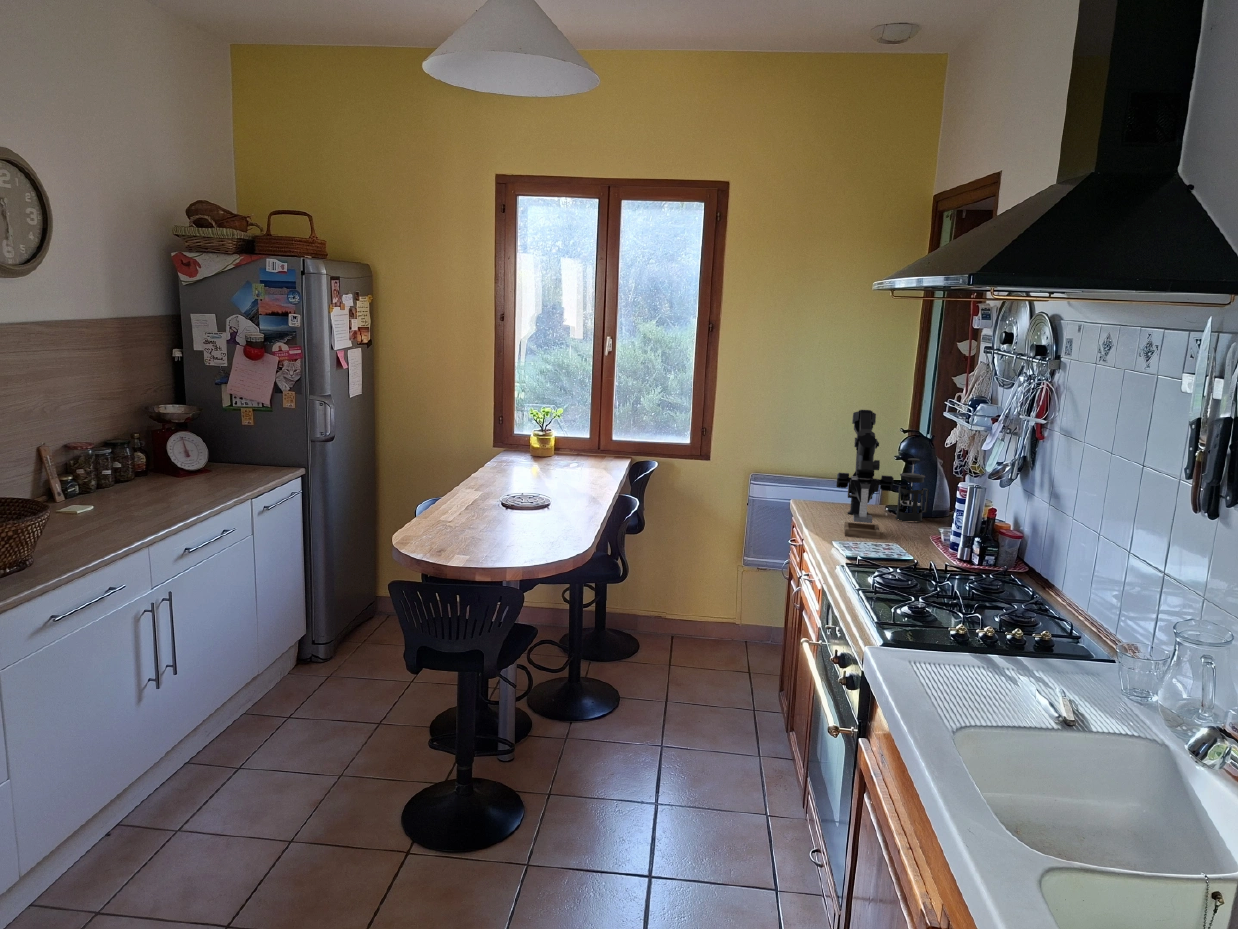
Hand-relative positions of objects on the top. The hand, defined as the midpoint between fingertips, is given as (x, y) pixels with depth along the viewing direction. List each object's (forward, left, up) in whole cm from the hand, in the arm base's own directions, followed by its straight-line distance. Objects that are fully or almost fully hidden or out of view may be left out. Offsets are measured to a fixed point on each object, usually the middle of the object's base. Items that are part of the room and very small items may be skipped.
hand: (864, 502), depth 296 cm
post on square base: (-1, 0, -7) cm, 7 cm away
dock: (-1, 0, -11) cm, 11 cm away
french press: (-35, +9, -12) cm, 38 cm away
